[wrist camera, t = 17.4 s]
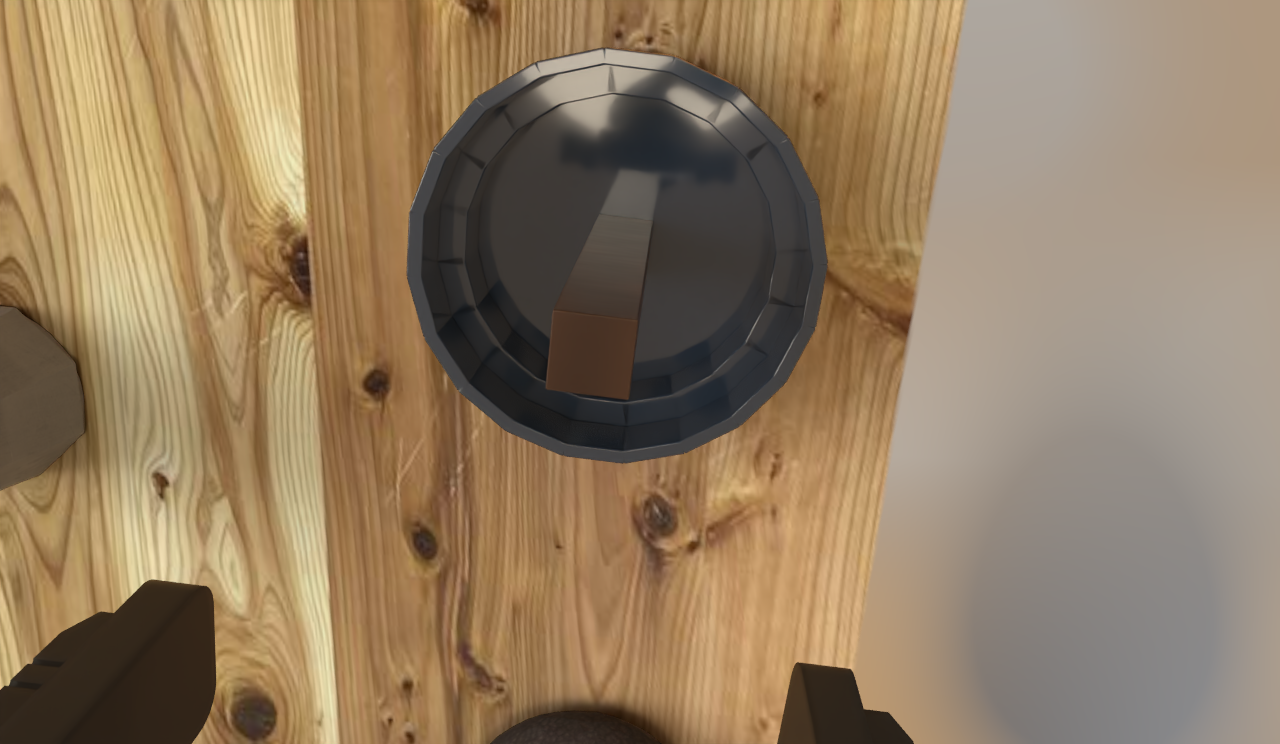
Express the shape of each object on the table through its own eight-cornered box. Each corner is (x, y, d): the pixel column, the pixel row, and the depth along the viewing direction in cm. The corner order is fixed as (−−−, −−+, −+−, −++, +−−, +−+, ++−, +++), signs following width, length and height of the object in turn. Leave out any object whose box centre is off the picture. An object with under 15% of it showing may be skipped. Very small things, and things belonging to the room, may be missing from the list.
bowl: (836, 75, 40) (863, 80, 34) (773, 429, 45) (786, 484, 39) (453, 26, 40) (416, 23, 34) (434, 386, 45) (399, 436, 39)
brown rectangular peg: (653, 220, 41) (638, 320, 26) (646, 274, 42) (628, 400, 27) (598, 213, 41) (552, 309, 26) (593, 267, 42) (545, 389, 27)
